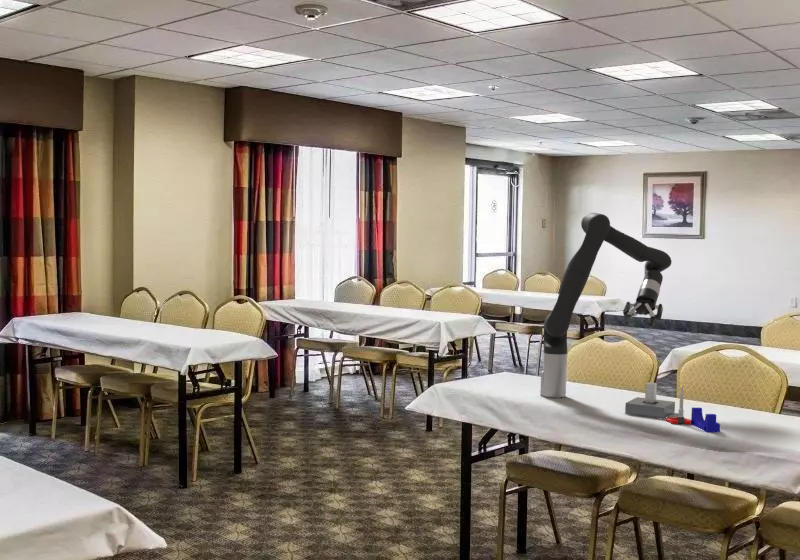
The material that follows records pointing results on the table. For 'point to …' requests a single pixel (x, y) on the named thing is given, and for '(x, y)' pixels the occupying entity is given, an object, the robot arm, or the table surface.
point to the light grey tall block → (650, 393)
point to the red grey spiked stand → (679, 418)
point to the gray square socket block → (650, 408)
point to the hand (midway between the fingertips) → (638, 325)
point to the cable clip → (704, 421)
